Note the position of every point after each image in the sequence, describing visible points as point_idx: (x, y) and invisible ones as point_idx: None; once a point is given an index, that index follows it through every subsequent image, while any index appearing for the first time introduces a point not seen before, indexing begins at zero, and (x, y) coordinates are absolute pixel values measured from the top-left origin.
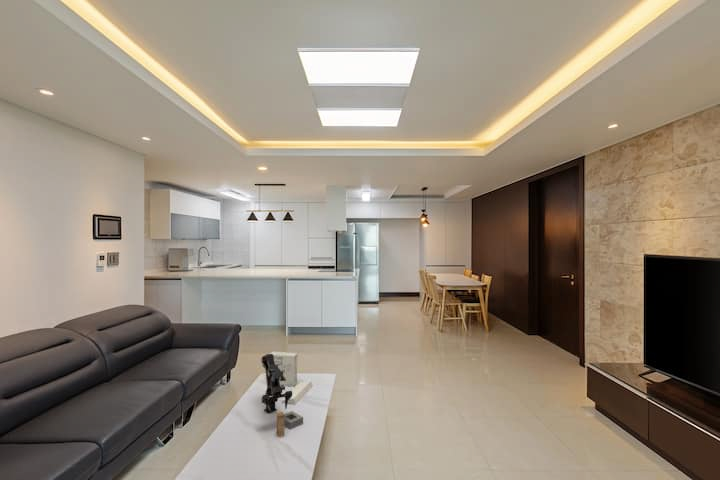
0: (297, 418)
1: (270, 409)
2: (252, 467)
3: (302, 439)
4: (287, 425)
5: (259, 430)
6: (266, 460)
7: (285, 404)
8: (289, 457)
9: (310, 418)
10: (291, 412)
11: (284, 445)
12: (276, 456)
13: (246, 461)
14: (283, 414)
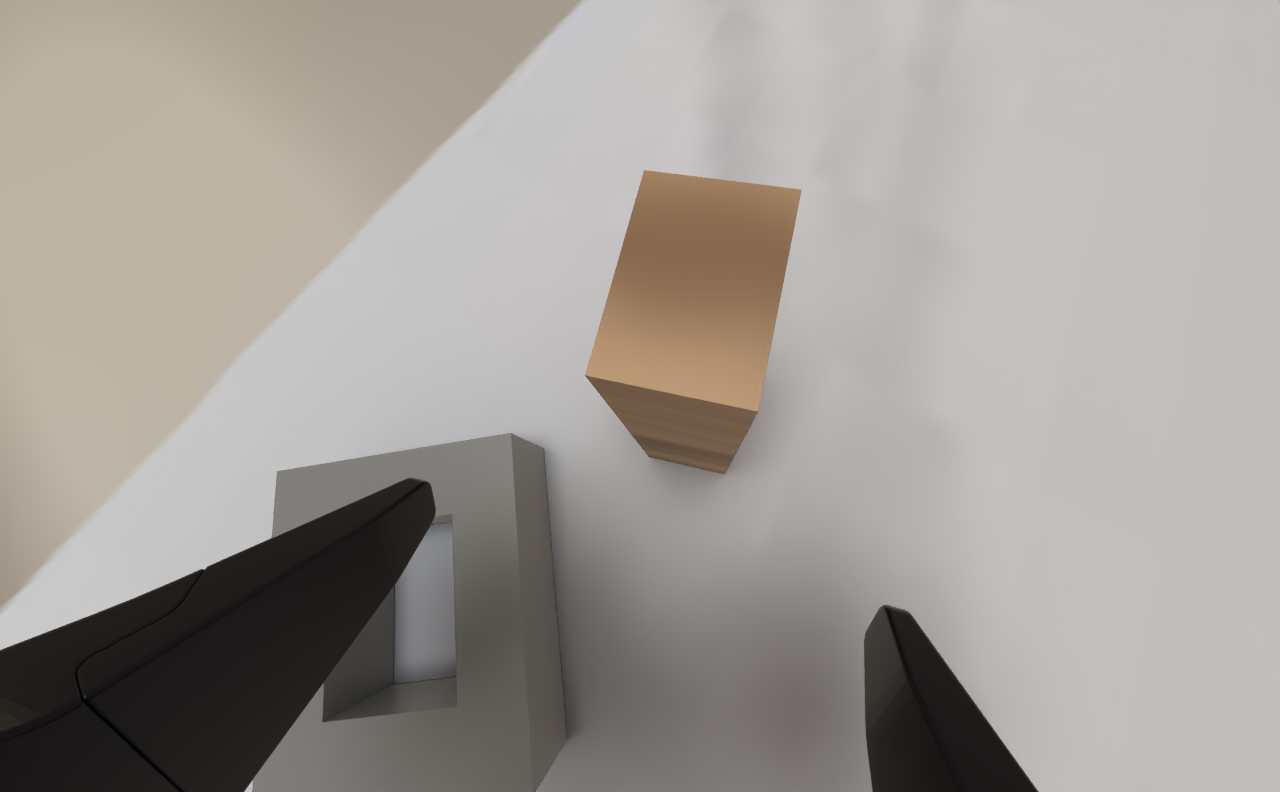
0: (356, 489)
1: (946, 667)
2: (1180, 13)
3: (548, 188)
4: (539, 507)
5: None
6: (1013, 49)
7: (315, 601)
8: (793, 5)
9: (205, 539)
10: (295, 767)
11: (754, 182)
12: (899, 62)
13: (1236, 117)
14: (656, 195)
